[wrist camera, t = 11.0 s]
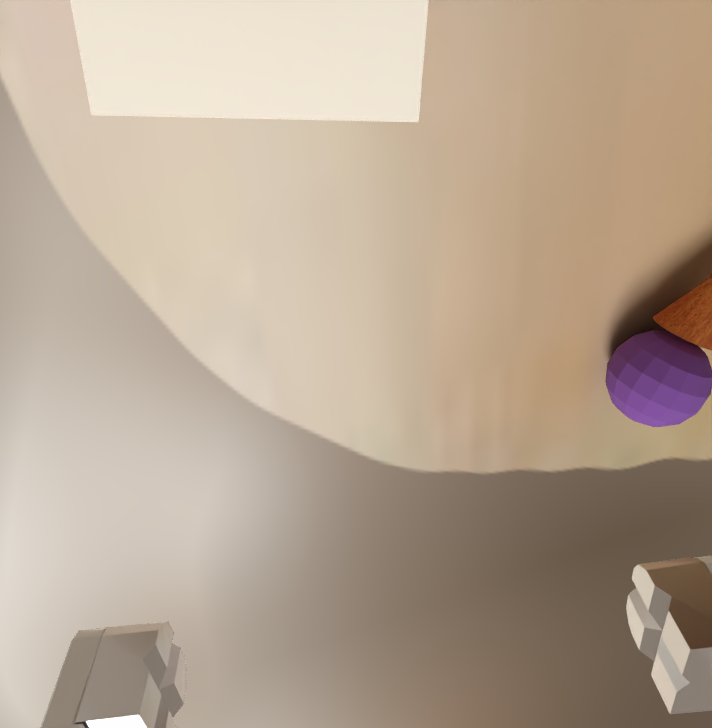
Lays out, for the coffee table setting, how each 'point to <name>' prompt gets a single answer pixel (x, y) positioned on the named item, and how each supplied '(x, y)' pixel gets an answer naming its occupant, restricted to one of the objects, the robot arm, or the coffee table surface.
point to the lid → (253, 58)
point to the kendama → (666, 364)
